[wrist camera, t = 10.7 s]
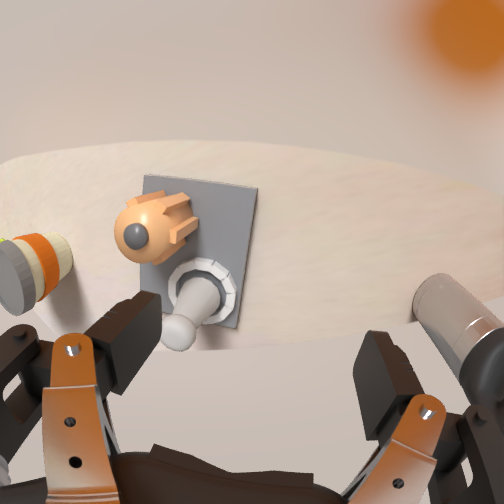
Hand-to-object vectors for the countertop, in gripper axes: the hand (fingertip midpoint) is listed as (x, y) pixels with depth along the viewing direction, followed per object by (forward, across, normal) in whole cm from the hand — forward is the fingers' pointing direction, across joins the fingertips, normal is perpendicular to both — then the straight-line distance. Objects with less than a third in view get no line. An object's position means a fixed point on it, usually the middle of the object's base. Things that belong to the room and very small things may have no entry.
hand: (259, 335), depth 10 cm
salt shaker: (+28, +9, +13) cm, 32 cm away
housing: (+29, +12, +8) cm, 32 cm away
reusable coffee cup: (+29, +41, +13) cm, 52 cm away
